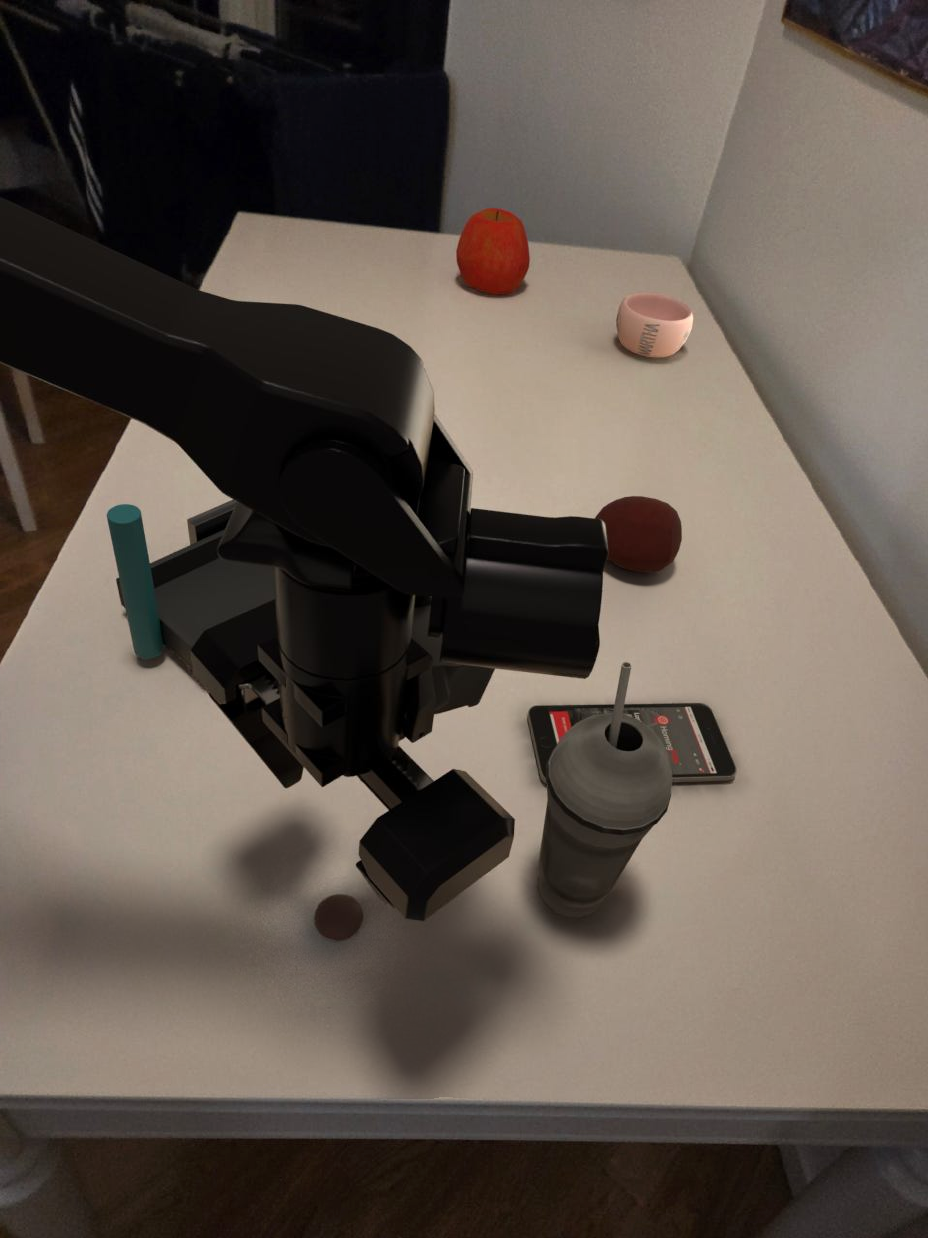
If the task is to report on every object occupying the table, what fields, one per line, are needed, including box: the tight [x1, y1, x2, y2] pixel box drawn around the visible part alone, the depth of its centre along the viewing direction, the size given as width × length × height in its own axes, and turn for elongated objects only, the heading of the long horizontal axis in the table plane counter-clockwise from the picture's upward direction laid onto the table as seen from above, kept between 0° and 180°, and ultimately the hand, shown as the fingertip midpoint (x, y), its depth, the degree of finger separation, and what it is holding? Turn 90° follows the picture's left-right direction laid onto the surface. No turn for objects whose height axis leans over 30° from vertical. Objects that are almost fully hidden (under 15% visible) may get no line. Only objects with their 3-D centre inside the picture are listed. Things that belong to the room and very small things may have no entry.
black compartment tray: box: [106, 503, 275, 672], centre depth 68 cm, size 17×12×13 cm
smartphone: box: [526, 702, 738, 785], centre depth 67 cm, size 7×1×15 cm
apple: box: [455, 207, 531, 295], centre depth 127 cm, size 11×11×11 cm
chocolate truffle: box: [313, 893, 364, 942], centre depth 54 cm, size 3×3×2 cm
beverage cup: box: [536, 661, 673, 919], centre depth 52 cm, size 7×7×20 cm
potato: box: [594, 495, 683, 573], centre depth 83 cm, size 7×8×7 cm
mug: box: [615, 291, 694, 359], centre depth 119 cm, size 12×10×6 cm
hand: (339, 837), depth 48 cm, fingers open, 9 cm apart
